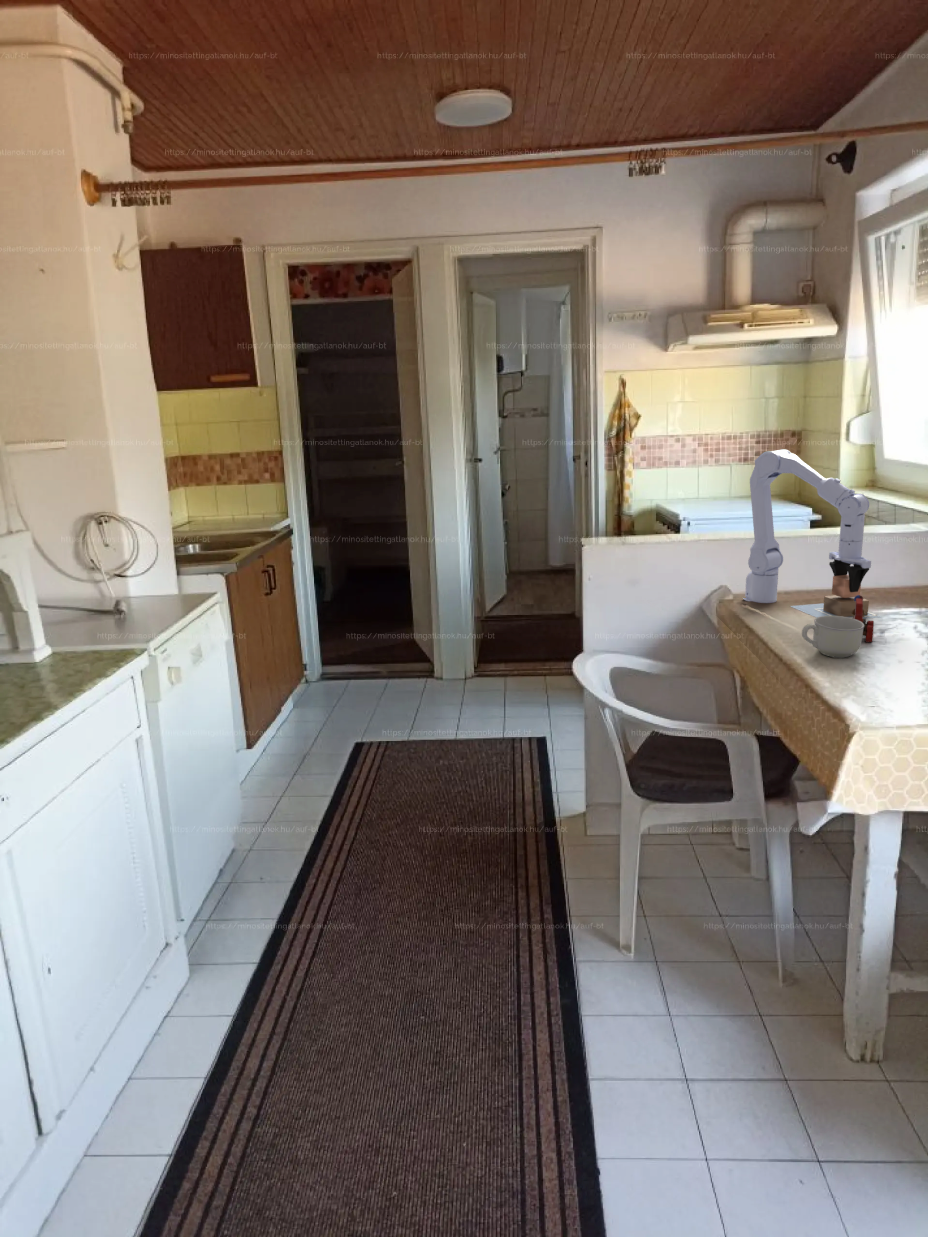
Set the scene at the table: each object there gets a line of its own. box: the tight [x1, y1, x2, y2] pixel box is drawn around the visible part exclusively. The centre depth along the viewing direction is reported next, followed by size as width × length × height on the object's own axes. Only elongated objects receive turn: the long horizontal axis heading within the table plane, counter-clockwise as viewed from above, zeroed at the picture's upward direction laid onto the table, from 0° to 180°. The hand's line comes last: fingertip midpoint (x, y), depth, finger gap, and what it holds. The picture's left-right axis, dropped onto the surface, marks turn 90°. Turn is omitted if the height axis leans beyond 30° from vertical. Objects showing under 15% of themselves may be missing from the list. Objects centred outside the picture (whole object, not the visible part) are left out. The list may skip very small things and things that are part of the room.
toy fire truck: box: [852, 594, 875, 643], centre depth 208 cm, size 7×12×10 cm, turn 154°
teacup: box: [801, 616, 864, 659], centre depth 197 cm, size 14×11×8 cm
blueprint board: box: [789, 602, 881, 620], centre depth 231 cm, size 18×16×1 cm
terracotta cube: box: [831, 574, 862, 598], centre depth 228 cm, size 5×5×5 cm
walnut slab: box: [823, 594, 870, 617], centre depth 229 cm, size 8×8×4 cm
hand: (847, 589), depth 228 cm, fingers closed on terracotta cube, 5 cm apart
